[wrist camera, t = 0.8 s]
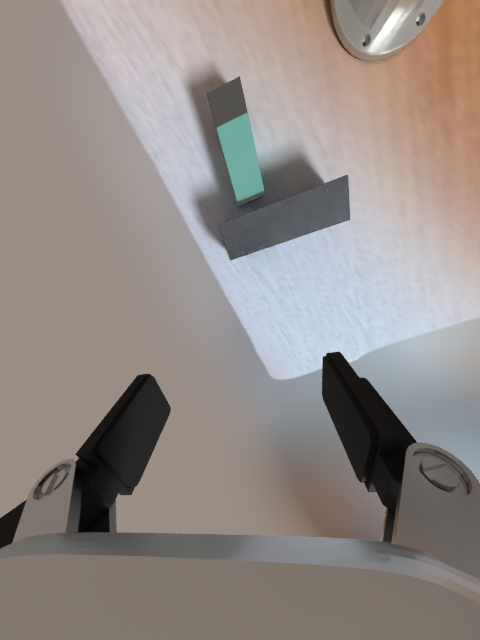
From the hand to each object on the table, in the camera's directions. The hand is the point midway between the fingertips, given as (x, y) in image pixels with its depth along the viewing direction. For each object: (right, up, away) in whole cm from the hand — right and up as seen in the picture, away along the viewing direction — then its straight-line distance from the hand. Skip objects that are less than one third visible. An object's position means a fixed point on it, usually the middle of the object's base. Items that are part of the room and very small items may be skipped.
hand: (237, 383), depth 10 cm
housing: (+6, +19, +19) cm, 28 cm away
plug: (0, +27, +16) cm, 32 cm away
